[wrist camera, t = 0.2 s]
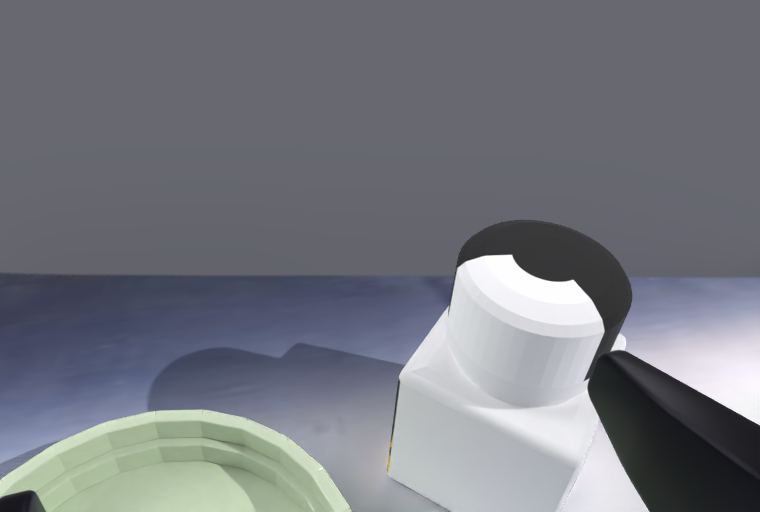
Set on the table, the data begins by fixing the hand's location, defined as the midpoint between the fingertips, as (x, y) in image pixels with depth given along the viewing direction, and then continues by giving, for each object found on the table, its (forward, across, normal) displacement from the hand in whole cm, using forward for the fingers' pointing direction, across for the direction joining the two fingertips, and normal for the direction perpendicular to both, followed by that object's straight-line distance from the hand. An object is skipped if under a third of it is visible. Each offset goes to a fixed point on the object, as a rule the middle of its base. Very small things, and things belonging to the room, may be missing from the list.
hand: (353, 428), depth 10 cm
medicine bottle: (+8, -9, +17) cm, 21 cm away
